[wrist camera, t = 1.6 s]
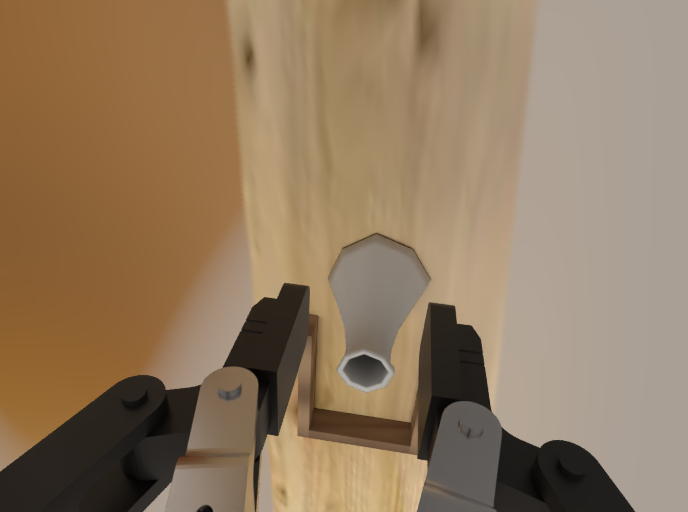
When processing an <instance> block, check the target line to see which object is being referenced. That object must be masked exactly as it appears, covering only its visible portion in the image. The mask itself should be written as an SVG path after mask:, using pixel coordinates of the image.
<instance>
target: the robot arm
mask: <svg viewBox="0 0 688 512" xmlns="http://www.w3.org/2000/svg"><path fill="white" fill-rule="evenodd" d="M309 298H310V289H309V286H305V285H297V284H290V283H284V284H283V286H282V289H281V291H280V293H279V296H278V298H277V299H274V298H267V297H264V298H263V299H262V300H260V301H259V302H258V303H257V304H256V305H254V306H253V307H252V309H251V311H250V313H249V315H248V317H247V319H246V322H245V323H244V325H243V327H242V331H241V332H240V333H239V335H238V337H237V339H236V341H235V343H234V346H233V348H232V350H231V352H230V354H229V356H228V358H227V360H226V362H225V364H224V366H223V368H221V369H218V370H216V371H214V372H212V373H211V374H209V375H208V376H207V377H206V378H205V379H204V381H203V383H202V384H201V385H198V386H195V387H190V388H181V389H173V390H166V389H165V386H164V384H163V383H162V381H161V380H159V379H158V378H156V377H153V376H148V375H138V376H133V377H129V378H126V379H124V380H122V381H120V382H118V383H117V384H115V385H114V386H112V387H111V388H110V389H108V390H107V391H106V392H104V393H103V394H102V395H100V396H99V397H98V398H97V399H95V400H94V401H93V402H91V403H90V404H89V405H87V406H86V407H85V408H83V409H82V410H81V411H80V412H78V413H77V414H76V415H74V416H73V417H72V418H70V419H69V420H68V421H66V422H65V423H64V424H62V425H61V426H60V427H58V428H57V429H56V430H54V431H53V432H52V433H51V434H49V435H48V436H47V437H45V438H44V439H43V440H41V441H40V442H39V443H37V444H36V445H35V446H33V447H32V448H31V449H29V450H28V451H27V452H26V453H24V454H23V455H22V456H20V457H19V458H18V459H16V460H15V461H14V462H12V463H11V464H10V465H9V466H7V467H6V468H5V469H3V470H2V471H1V472H0V512H143V511H144V510H145V509H146V508H147V507H148V506H149V505H150V504H151V503H152V502H153V501H154V500H155V498H156V497H157V496H158V495H159V494H160V493H161V492H162V491H163V490H164V489H165V488H166V487H167V486H168V485H169V483H171V482H172V484H171V488H170V492H169V497H168V501H167V505H166V509H165V512H258V502H259V488H260V474H261V460H262V453H261V451H262V449H263V446H264V443H265V440H266V437H267V434H269V435H275V436H278V435H279V432H280V428H281V425H282V422H283V419H284V415H285V412H286V409H287V405H288V402H289V399H290V396H291V392H292V389H293V386H294V383H295V379H296V376H297V373H298V369H299V366H300V363H301V360H302V356H303V353H304V350H305V346H306V342H307V337H308V329H309ZM482 354H483V351H482V344H481V339H480V337H479V336H478V334H477V333H476V331H475V330H474V329H473V327H472V326H470V325H463V324H457V321H456V310H455V306H453V305H446V304H438V303H431V302H429V305H428V309H427V314H426V319H425V324H424V330H423V335H422V340H421V346H420V354H419V387H418V454H417V459H421V460H427V461H428V472H427V476H426V480H425V483H424V487H423V490H422V494H421V498H420V502H419V506H418V510H417V512H635V511H634V509H633V508H632V507H631V505H630V504H629V503H628V501H627V500H626V499H625V497H624V496H623V495H622V493H621V492H620V491H619V489H618V488H617V487H616V485H615V484H614V483H613V481H612V480H611V479H610V477H609V476H608V475H607V473H606V472H605V471H604V469H603V468H602V466H601V465H600V464H599V463H598V461H597V460H596V459H595V458H594V457H593V456H592V455H591V454H590V453H589V452H588V451H586V450H585V449H583V448H582V447H580V446H578V445H576V444H574V443H571V442H567V441H563V440H553V441H549V442H547V443H545V444H543V445H542V446H541V448H539V447H536V446H534V445H532V444H529V443H527V442H525V441H522V440H520V439H518V438H516V437H514V436H513V435H511V434H509V433H508V432H507V431H505V430H504V429H503V428H502V427H501V424H500V422H499V420H498V419H497V417H496V416H495V415H494V414H493V413H492V411H491V406H490V399H489V392H488V385H487V379H486V372H485V367H484V358H483V355H482Z"/></svg>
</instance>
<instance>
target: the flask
mask: <svg viewBox="0 0 688 512" xmlns="http://www.w3.org/2000/svg"><path fill="white" fill-rule="evenodd" d="M328 279H329V283H330V286H331V288H332V291H333V294H334V297H335V299H336V302H337V305H338V308H339V311H340V314H341V318H342V321H343V324H344V328H345V338H346V351H345V355H344V357H343V358H342V360H341V362H340V364H339V365H338V367H337V372H338V373H339V375H340V376H341V377H342V379H343V380H344V381H345V383H346V384H347V385H348V386H351V387H353V388H356V389H358V390H361V391H363V392H366V393H368V392H371V391H375V390H378V389H381V388H384V387H386V385H387V384H388V382H389V381H390V380H391V378H392V377H393V375H394V374H395V369H394V367H393V365H392V364H391V363H390V359H391V349H392V347H393V344H394V341H395V338H396V335H397V332H398V330H399V328H400V327H401V325H402V323H403V322H404V320H405V319H406V317H407V316H408V314H409V313H410V311H411V310H412V308H413V307H414V305H415V304H416V302H417V300H418V299H419V297H420V296H421V294H422V293H423V291H424V290H425V288H426V286H427V285H428V283H429V282H430V278H429V276H428V275H427V273H426V271H425V270H424V268H423V266H422V264H421V263H420V261H419V259H418V258H417V256H416V254H415V252H414V251H413V250H412V249H410V248H408V247H405V246H403V245H401V244H398V243H396V242H394V241H391V240H389V239H387V238H384V237H382V236H380V235H378V234H375V235H373V236H371V237H369V238H366V239H364V240H362V241H360V242H357V243H355V244H353V245H351V246H348V247H346V248H344V249H342V251H341V253H340V255H339V257H338V259H337V261H336V263H335V265H334V267H333V269H332V271H331V273H330V275H329V277H328Z"/></svg>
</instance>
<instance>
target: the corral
mask: <svg viewBox="0 0 688 512" xmlns="http://www.w3.org/2000/svg"><path fill="white" fill-rule="evenodd" d="M317 327H318V316H314V315H309V329H308V337H307V342H306V346H305V350H304V353H303V356H302V360H301V363H300V366H299V375H298V436H301V437H307V438H314V439H320V440H326V441H332V442H339V443H345V444H351V445H357V446H363V447H370V448H376V449H382V450H388V451H395V452H401V453H407V454H413V455H417V454H418V391H417V396H416V401H415V406H414V411H413V416H412V421H411V423H406V422H399V421H393V420H387V419H380V418H374V417H367V416H361V415H354V414H348V413H341V412H335V411H328V410H322V409H316V408H314V401H315V376H316V351H317ZM418 387H419V386H418Z"/></svg>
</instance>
